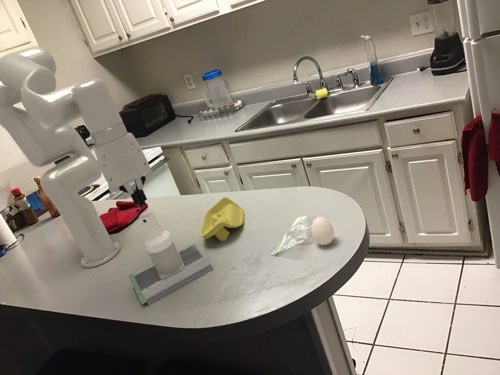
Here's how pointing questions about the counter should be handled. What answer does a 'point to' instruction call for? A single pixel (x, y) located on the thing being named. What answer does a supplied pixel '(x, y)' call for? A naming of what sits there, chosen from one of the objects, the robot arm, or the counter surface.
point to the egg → (322, 231)
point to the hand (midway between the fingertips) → (142, 204)
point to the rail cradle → (170, 276)
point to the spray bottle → (160, 247)
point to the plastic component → (222, 219)
